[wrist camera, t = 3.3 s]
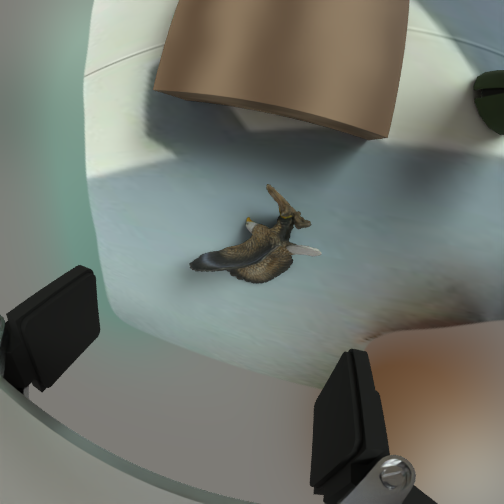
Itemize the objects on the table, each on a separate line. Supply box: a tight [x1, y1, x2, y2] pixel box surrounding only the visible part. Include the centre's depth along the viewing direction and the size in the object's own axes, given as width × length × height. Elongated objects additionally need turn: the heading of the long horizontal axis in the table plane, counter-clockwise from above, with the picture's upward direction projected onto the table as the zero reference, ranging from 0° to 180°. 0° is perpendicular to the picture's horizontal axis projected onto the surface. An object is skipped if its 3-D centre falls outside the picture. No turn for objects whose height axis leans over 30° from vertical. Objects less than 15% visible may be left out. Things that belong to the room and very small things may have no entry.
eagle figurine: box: [190, 184, 321, 283], centre depth 23 cm, size 8×7×9 cm
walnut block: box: [153, 0, 409, 140], centre depth 16 cm, size 16×16×6 cm
